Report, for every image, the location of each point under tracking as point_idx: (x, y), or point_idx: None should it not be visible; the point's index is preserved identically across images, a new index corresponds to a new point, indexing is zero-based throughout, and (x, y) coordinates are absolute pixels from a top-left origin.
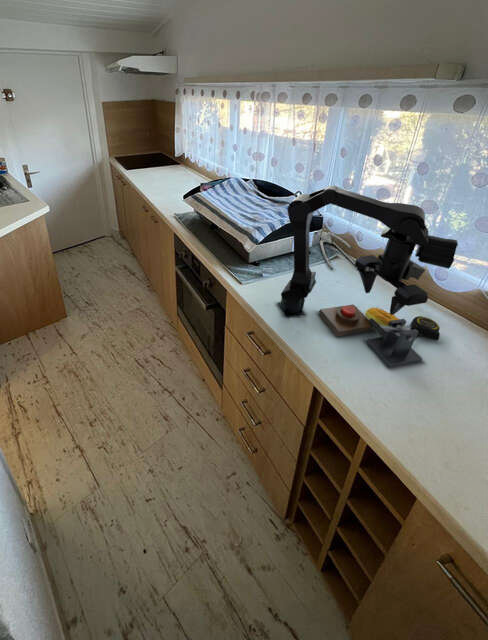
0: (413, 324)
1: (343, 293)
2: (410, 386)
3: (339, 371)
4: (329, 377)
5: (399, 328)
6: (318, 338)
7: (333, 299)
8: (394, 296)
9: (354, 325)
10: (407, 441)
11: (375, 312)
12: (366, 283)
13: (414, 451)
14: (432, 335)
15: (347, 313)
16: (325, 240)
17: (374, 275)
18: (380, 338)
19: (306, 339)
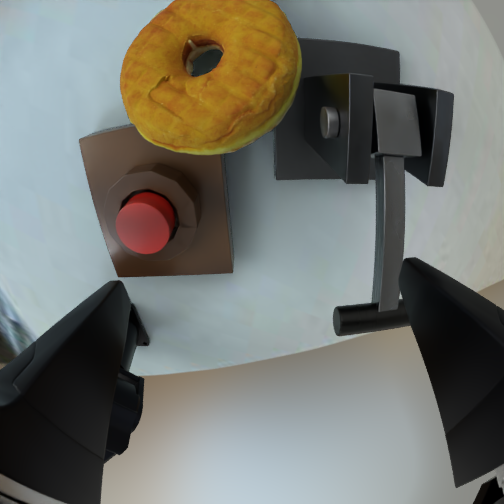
0: None
1: (19, 130)
2: None
3: (349, 304)
4: None
5: (395, 156)
6: (234, 307)
7: (48, 180)
8: (468, 482)
9: (206, 203)
10: (486, 262)
11: (185, 131)
12: (105, 405)
13: (495, 262)
14: None
15: (165, 243)
16: None
17: (26, 435)
18: (281, 123)
19: (234, 332)
